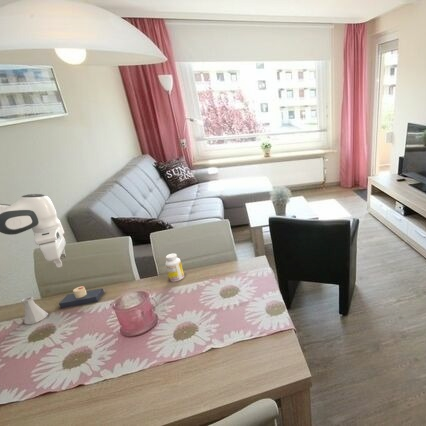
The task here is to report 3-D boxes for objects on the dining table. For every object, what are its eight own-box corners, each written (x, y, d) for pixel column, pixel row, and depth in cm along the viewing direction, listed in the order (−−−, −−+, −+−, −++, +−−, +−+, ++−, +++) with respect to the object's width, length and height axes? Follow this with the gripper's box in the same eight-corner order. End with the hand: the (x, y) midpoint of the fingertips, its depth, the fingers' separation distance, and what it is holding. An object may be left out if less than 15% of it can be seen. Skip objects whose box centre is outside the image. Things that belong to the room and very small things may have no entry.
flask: (37, 325, 117) (27, 304, 114) (19, 325, 117) (9, 305, 114) (52, 313, 124) (43, 293, 120) (36, 313, 124) (27, 293, 121)
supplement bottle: (180, 273, 148) (174, 251, 144) (187, 277, 145) (181, 254, 140) (167, 279, 143) (160, 256, 139) (174, 283, 140) (167, 260, 135)
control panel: (61, 309, 126) (58, 303, 125) (69, 299, 132) (67, 294, 131) (97, 302, 129) (95, 296, 128) (104, 293, 135) (102, 288, 134)
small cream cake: (73, 299, 127) (70, 291, 126) (78, 293, 131) (75, 286, 130) (84, 297, 128) (81, 289, 127) (88, 292, 132) (85, 284, 131)
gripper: (44, 226, 126) (56, 255, 130) (33, 242, 109) (47, 274, 114) (63, 223, 129) (74, 251, 133) (55, 237, 112) (68, 269, 117)
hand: (61, 262), depth 124 cm, fingers open, 8 cm apart
